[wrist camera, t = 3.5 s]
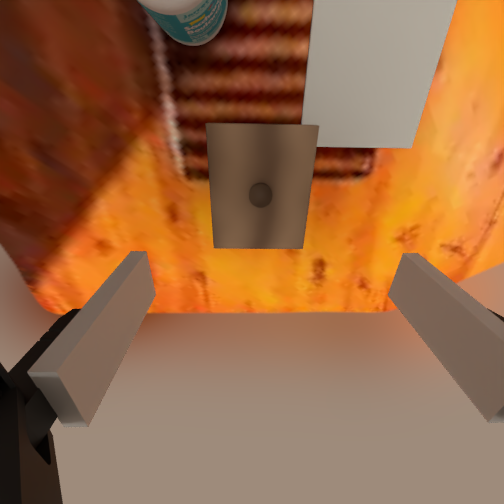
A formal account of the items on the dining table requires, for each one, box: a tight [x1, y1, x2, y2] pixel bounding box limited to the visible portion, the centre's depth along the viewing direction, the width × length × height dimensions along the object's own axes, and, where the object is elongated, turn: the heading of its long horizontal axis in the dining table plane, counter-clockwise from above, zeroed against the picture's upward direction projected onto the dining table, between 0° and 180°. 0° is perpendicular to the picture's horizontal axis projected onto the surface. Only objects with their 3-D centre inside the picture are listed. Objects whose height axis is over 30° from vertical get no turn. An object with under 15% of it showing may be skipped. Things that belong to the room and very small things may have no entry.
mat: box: [301, 0, 457, 148], centre depth 26 cm, size 14×16×1 cm
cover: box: [206, 123, 319, 249], centre depth 26 cm, size 10×13×3 cm
